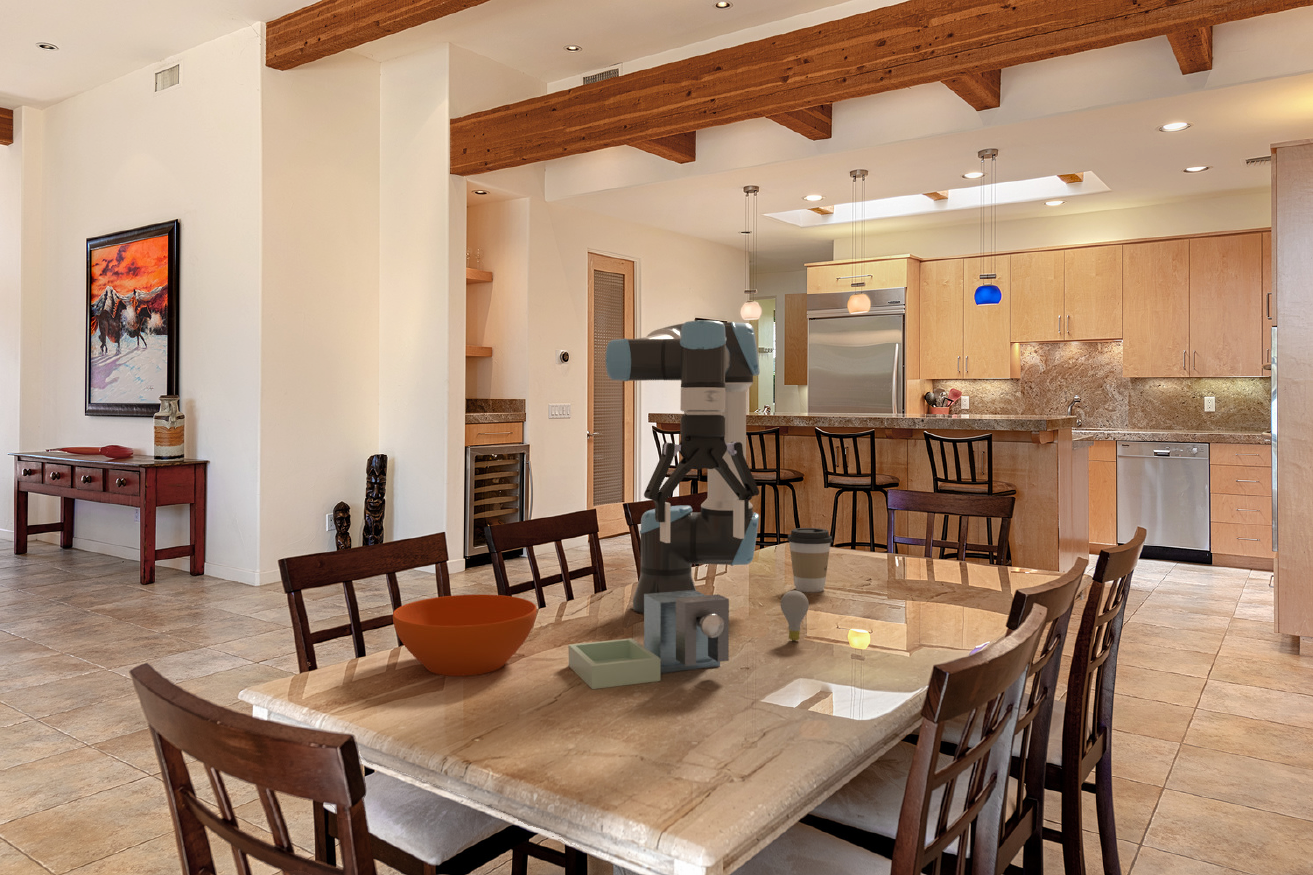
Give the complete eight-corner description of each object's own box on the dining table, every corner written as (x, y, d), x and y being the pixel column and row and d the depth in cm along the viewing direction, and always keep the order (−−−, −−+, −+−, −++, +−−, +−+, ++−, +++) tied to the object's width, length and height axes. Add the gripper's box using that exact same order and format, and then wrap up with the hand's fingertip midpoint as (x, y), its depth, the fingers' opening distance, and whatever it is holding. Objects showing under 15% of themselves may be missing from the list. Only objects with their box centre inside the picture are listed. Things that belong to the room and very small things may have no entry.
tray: (568, 665, 158) (568, 644, 158) (631, 658, 163) (631, 638, 163) (592, 689, 145) (592, 665, 145) (660, 680, 150) (660, 658, 150)
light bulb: (807, 645, 172) (808, 594, 172) (779, 643, 173) (779, 592, 173) (808, 638, 177) (809, 588, 177) (781, 636, 179) (781, 587, 178)
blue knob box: (637, 658, 163) (637, 593, 163) (696, 651, 168) (697, 588, 167) (679, 690, 145) (680, 617, 144) (745, 682, 149) (746, 611, 149)
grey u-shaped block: (675, 659, 151) (675, 597, 151) (718, 654, 154) (718, 594, 154) (685, 665, 148) (685, 602, 147) (728, 660, 150) (728, 598, 150)
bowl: (410, 694, 143) (409, 633, 142) (380, 655, 165) (380, 602, 165) (557, 673, 154) (557, 616, 154) (511, 639, 176) (511, 589, 176)
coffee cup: (836, 594, 219) (836, 533, 219) (790, 594, 219) (790, 533, 219) (828, 584, 231) (828, 527, 230) (784, 584, 231) (784, 527, 230)
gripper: (641, 413, 141) (641, 546, 142) (779, 413, 151) (778, 538, 151) (625, 413, 148) (625, 540, 149) (758, 413, 158) (757, 533, 158)
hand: (702, 539), depth 150 cm, fingers open, 13 cm apart
